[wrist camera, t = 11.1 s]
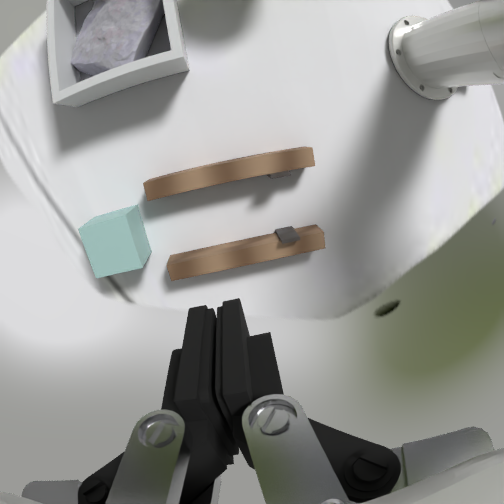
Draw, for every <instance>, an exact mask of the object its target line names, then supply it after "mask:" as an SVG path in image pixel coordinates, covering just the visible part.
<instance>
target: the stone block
mask: <svg viewBox="0 0 504 504" xmlns="http://www.w3.org/2000/svg"><path fill="white" fill-rule="evenodd" d="M164 13H165V11H164V5H163V0H96V1H95V2H94V4H93V8H92V9H91V11H90V12H89V13H88V15H87V16H86V18H85V20H84V22H83V25H82V28H81V32H80V33H79V35H78V37H77V40H76V45H75V48H74V49H73V52H72V56H71V64H72V65H73V66H75V68H76V69H77V70H79V71H81V72H83V73H86V74H90V75H92V76H95V75H97V74H100V73H103V72H105V71H108V70H110V69H113V68H116V67H119V66H121V65H124V64H127V63H130V62H133V61H136V60H139V59H142V58H146V56H147V54H148V51H149V48H150V46H151V43H152V41H153V38H154V36H155V33H156V31H157V29H158V26H159V24H160V21H161V19H162V17H163V15H164Z"/></svg>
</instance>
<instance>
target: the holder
mask: <svg viewBox="0 0 504 504" xmlns="http://www.w3.org/2000/svg"><path fill="white" fill-rule="evenodd" d="M86 1H88V0H47V49H48V64H49V75H50V85H51V93H52V101H53V104H59V105H66V106H72V107H79V106H82V105H84V104H86V103H89V102H91V101H94V100H96V99H99V98H101V97H104V96H107V95H109V94H112V93H115V92H118V91H120V90H123V89H126V88H129V87H132V86H135V85H138V84H142V83H145V82H148V81H152V80H155V79H158V78H162V77H166V76H169V75H173V74H177V73H181V72H185V71H189V64H188V59H187V54H186V49H185V43H184V38H183V33H182V27H181V22H180V16H179V10H178V5H177V0H163V5H164V11H165V17H166V23H167V29H168V35H169V41H170V47H171V50H170V51H167V52H163V53H159V54H156V55H152V56H149V57H146V58H142V59H139V60H136V61H133V62H130V63H127V64H124V65H121V66H119V67H116V68H113V69H110V70H108V71H105V72H103V73H100V74H97V75H95V76H93V77H90V78H88V79H85V80H83V81H81V79H80V71H79V70H77V69H76V68H75V66H73V65H72V64H71V56H72V52H73V49H74V48H75V45H76V28H75V6H77V5H79V4H81V3H83V2H86Z"/></svg>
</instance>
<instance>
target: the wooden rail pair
mask: <svg viewBox="0 0 504 504" xmlns="http://www.w3.org/2000/svg"><path fill="white" fill-rule="evenodd" d="M311 166H315V162H314V155H313V149H312V147H299V148H293V149H286V150H280V151H274V152H269V153H263V154H258V155H252V156H247V157H242V158H237V159H232V160H227V161H223V162H218V163H213V164H209V165H204V166H200V167H196V168H192V169H187V170H183V171H179V172H175V173H171V174H167V175H164V176H160V177H156V178H152V179H149V180H147V181H146V182H144V183H143V185H144V189H145V193H146V197H147V200H148V201H150V200H154V199H158V198H162V197H166V196H170V195H174V194H178V193H182V192H186V191H190V190H195V189H199V188H203V187H208V186H212V185H217V184H221V183H226V182H231V181H235V180H240V179H245V178H250V177H255V176H260V175H267V176H269V177H270V178H271V179H273V178H278V177H284V176H289V175H291V174H290V171H288V170H293V169H299V168H305V167H311ZM324 248H325V240H324V232H323V231H322V230H321V229H320V228H319V227H318V226H317V225H311V226H306V227H301V228H296V229H294V228H293V227H292V226H290V227H285V228H281V229H276V233H272V234H267V235H263V236H258V237H253V238H248V239H244V240H239V241H234V242H230V243H225V244H220V245H216V246H211V247H206V248H202V249H197V250H193V251H188V252H184V253H179V254H174V255H170V258H169V260H168V263H167V269H168V272H169V275H170V278H171V281H174V280H179V279H184V278H188V277H193V276H198V275H203V274H208V273H212V272H217V271H222V270H227V269H231V268H236V267H241V266H246V265H250V264H255V263H260V262H264V261H269V260H273V259H278V258H283V257H287V256H292V255H296V254H301V253H306V252H310V251H315V250H319V249H324Z"/></svg>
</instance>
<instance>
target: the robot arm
mask: <svg viewBox="0 0 504 504" xmlns="http://www.w3.org/2000/svg"><path fill="white" fill-rule="evenodd" d="M389 50H390V55H391V58H392V61H393V64H394V66H395V68H396V70H397V72H398V73H399V75H400V76H401V78H402V79H403V80H404V82H405V83H406V84H407V85H408V86H409V87H410V88H411V89H412V90H414V91H415V92H416V93H418V94H419V95H421V96H423V97H425V98H428V99H433V100H441V99H446V98H448V97H450V96H452V95H453V94H454V93H455V92H456V90H457V88H458V87H460V86H473V85H492V84H504V0H479V1H476V2H474V3H470V4H467V5H464V6H461V7H458V8H456V9H453V10H450V11H448V12H445V13H442V14H440V15H437V16H435V17H432V18H430V19H426V18H423V17H420V16H407V17H404V18H402V19H400V20H399V21H397V22H396V23H395V24H394V25H393V27H392V29H391V31H390V35H389ZM239 448H240V450H241V452H242V454H243V456H244V458H245V460H246V461H247V463H248V465H249V466H250V467H251V468H253V469H255V471H256V474H257V477H258V480H259V483H260V487H261V490H262V493H263V496H264V499H265V502H266V504H504V448H501V449H498V450H494V447H493V444H492V441H491V438H490V436H489V435H488V433H487V432H486V431H484V430H483V429H482V428H477V427H468V428H464V429H460V430H457V431H454V432H450V433H447V434H443V435H439V436H435V437H431V438H427V439H423V440H418V441H413V442H409V443H404V444H403V445H402V447H397V448H392V449H388V448H386V447H384V446H381V445H378V444H375V443H372V442H369V441H366V440H363V439H361V438H358V437H355V436H352V435H349V434H347V433H344V432H342V431H339V430H336V429H334V428H331V427H328V426H326V425H324V424H321V423H319V422H316V421H314V420H311V419H309V418H307V416H306V414H305V412H304V410H303V408H302V407H301V405H300V404H299V402H297V400H295V399H293V398H292V397H290V396H286V395H284V394H283V389H282V385H281V380H280V375H279V371H278V366H277V361H276V357H275V352H274V347H273V343H272V338H271V334H270V332H269V333H264V334H259V335H254V336H250V335H249V331H248V328H247V324H246V320H245V316H244V313H243V309H242V305H241V301H240V299H239V298H238V299H234V300H229V301H224V302H223V306H221V307H217V318H216V315H215V312H214V309H213V308H211V309H208V308H207V306H206V305H204V306H199V307H193V308H189V311H188V317H187V323H186V328H185V334H184V340H183V346H182V349H176V350H174V351H173V352H172V355H171V360H170V365H169V370H168V375H167V381H166V386H165V391H164V397H163V403H162V408H161V410H156V411H153V412H150V413H148V414H146V415H145V416H143V417H142V418H141V419H140V420H139V421H138V422H137V423H136V425H135V427H134V429H133V431H132V434H131V437H130V439H129V442H128V444H127V447H126V449H125V452H123V453H122V454H120V455H119V456H118V457H116V458H115V459H114V460H112V461H111V462H109V463H108V464H106V465H105V466H104V467H102V468H101V469H100V470H98V471H97V472H95V473H94V474H92V475H91V476H89V477H88V478H87V479H85V480H84V481H83V482H80V481H79V480H66V481H33V482H30V483H29V484H27V485H26V486H25V488H24V489H23V492H22V497H20V496H18V495H15V494H11V493H6V492H0V504H218V499H219V492H220V486H221V476H220V475H221V474H222V473H223V472H224V471H225V470H226V469H227V465H228V464H234V462H233V455H238V454H239Z"/></svg>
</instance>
